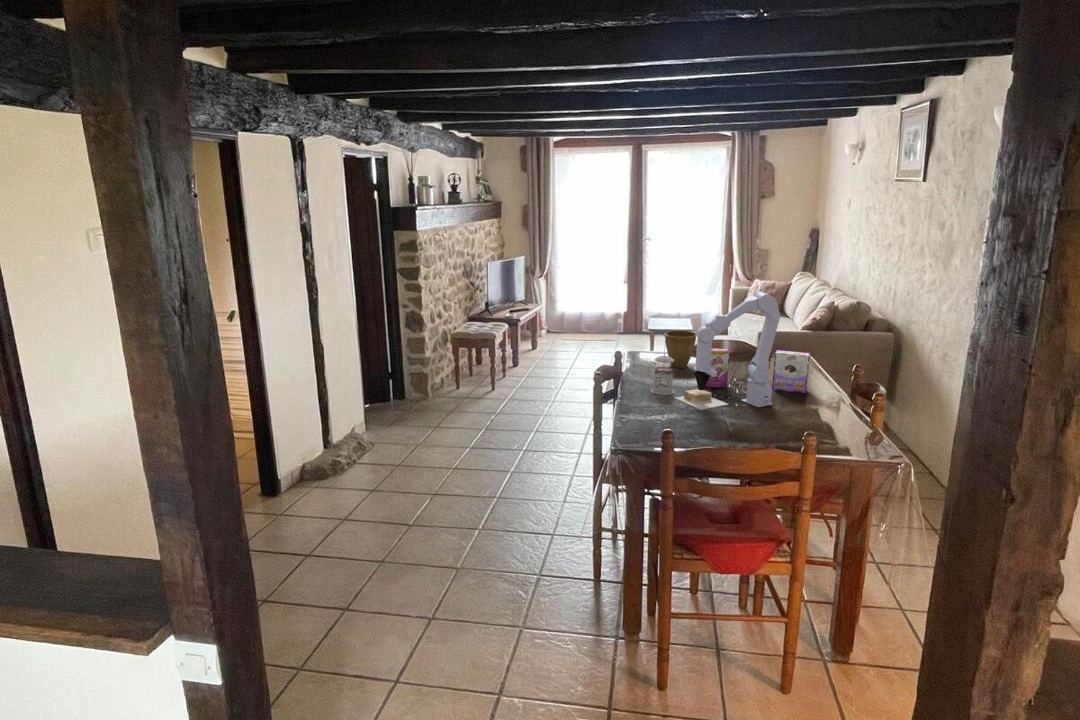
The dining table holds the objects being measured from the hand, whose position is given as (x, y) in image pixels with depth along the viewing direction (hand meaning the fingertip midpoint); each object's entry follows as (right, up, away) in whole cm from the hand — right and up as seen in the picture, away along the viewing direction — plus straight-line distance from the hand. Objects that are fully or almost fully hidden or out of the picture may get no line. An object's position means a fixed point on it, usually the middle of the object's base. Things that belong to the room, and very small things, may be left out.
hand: (701, 389), depth 268 cm
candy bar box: (+10, 0, +22) cm, 24 cm away
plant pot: (+2, +9, +55) cm, 56 cm away
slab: (+1, -3, 0) cm, 3 cm away
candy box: (+42, -1, +18) cm, 45 cm away
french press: (-14, -1, +15) cm, 20 cm away
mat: (0, -5, +1) cm, 5 cm away
